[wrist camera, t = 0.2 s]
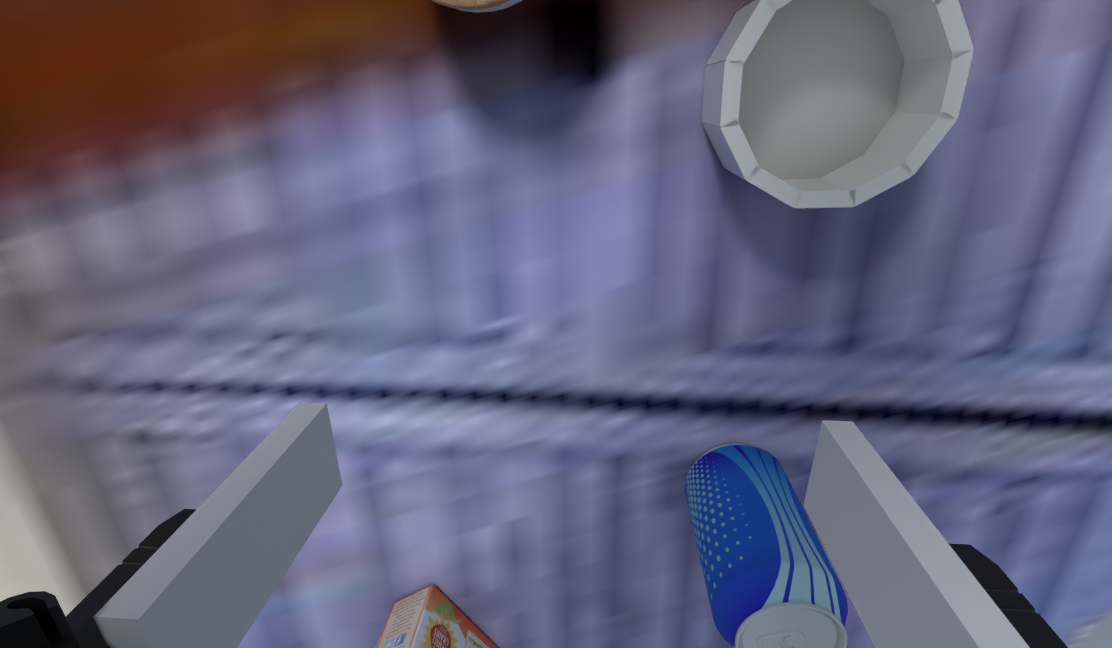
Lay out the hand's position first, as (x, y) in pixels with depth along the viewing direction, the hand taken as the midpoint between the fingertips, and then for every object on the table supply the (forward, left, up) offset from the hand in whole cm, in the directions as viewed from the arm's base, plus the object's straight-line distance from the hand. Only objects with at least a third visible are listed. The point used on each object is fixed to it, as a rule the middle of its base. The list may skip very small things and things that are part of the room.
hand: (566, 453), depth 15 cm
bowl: (-9, +14, -28) cm, 32 cm away
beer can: (+22, +12, -28) cm, 38 cm away
